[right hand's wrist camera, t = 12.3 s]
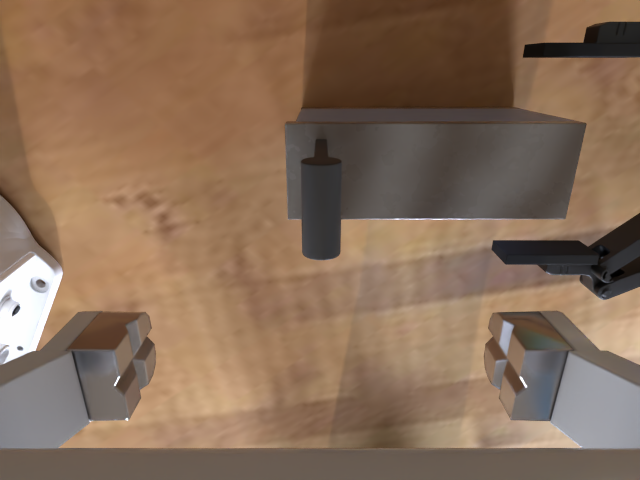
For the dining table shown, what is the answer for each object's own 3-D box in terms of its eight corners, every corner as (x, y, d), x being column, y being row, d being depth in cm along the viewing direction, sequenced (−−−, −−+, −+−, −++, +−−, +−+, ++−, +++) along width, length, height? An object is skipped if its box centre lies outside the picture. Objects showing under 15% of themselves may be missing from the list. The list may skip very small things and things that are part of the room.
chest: (302, 180, 37) (297, 214, 28) (301, 107, 34) (295, 121, 26) (502, 180, 37) (557, 214, 28) (514, 107, 34) (577, 120, 26)
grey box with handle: (289, 214, 28) (275, 275, 20) (286, 121, 26) (270, 147, 18) (557, 214, 28) (654, 275, 20) (577, 120, 26) (695, 146, 18)
